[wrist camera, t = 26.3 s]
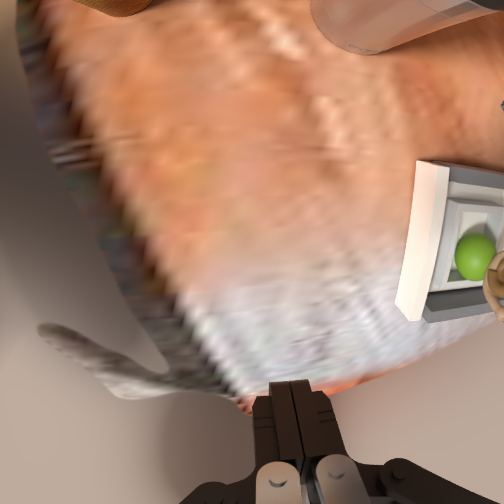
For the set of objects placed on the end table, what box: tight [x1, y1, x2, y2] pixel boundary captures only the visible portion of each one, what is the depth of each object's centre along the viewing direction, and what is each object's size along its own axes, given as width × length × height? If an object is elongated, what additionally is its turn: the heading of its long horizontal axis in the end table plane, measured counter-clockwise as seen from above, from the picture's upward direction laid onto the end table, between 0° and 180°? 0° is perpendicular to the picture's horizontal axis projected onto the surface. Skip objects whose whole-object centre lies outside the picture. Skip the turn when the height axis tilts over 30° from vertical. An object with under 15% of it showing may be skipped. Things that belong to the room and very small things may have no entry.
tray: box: [395, 160, 504, 321], centre depth 30 cm, size 17×17×4 cm
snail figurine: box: [455, 233, 504, 322], centre depth 26 cm, size 5×6×12 cm
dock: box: [422, 160, 504, 323], centre depth 30 cm, size 17×18×5 cm
